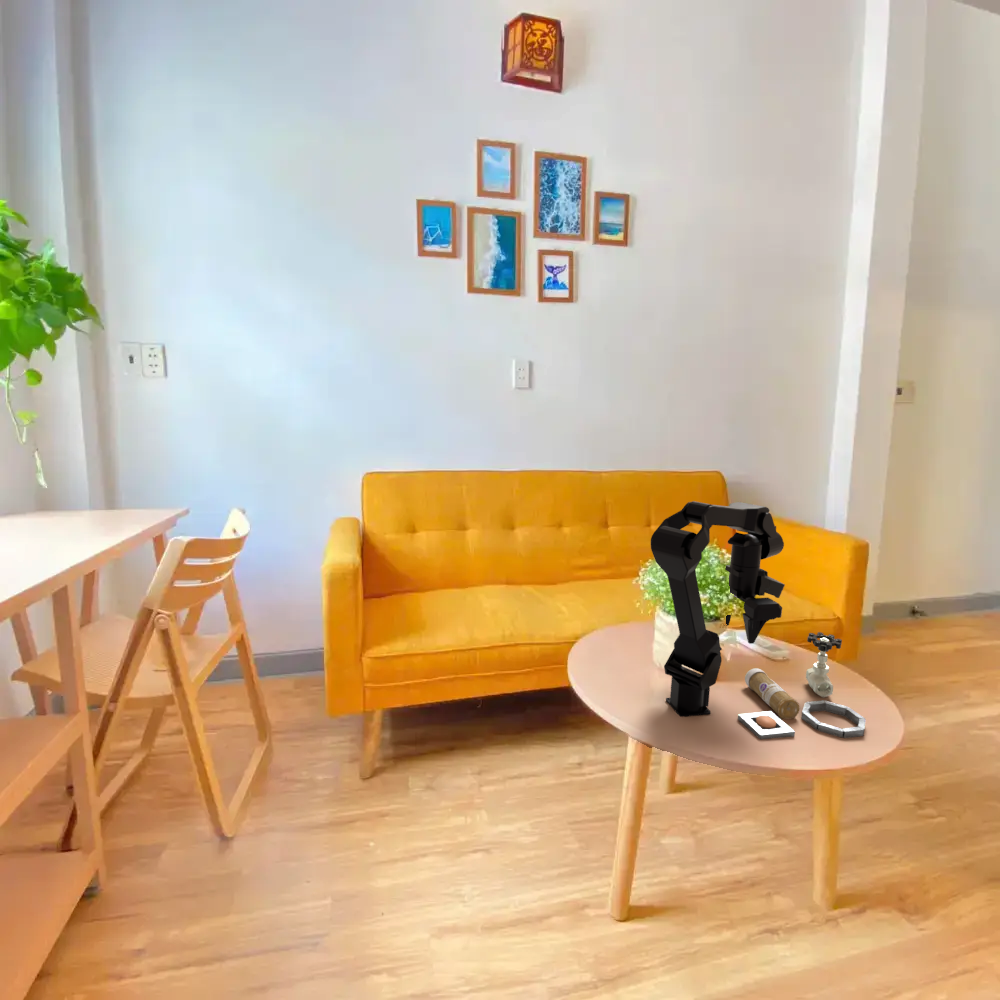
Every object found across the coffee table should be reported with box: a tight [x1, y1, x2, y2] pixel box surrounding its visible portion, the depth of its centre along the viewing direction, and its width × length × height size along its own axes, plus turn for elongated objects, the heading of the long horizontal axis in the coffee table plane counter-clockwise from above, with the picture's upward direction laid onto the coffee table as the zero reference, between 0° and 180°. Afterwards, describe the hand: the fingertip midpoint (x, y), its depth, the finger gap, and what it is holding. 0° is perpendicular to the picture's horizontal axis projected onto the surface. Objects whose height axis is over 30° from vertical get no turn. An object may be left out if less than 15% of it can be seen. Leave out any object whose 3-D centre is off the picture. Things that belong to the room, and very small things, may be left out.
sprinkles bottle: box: [744, 667, 801, 720], centre depth 122 cm, size 5×5×13 cm
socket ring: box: [800, 700, 866, 739], centre depth 115 cm, size 10×10×2 cm
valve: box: [805, 631, 843, 698], centre depth 127 cm, size 7×7×12 cm
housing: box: [737, 710, 796, 740], centre depth 112 cm, size 7×7×2 cm
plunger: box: [755, 716, 776, 730], centre depth 112 cm, size 3×3×2 cm
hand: (738, 633), depth 127 cm, fingers open, 9 cm apart
